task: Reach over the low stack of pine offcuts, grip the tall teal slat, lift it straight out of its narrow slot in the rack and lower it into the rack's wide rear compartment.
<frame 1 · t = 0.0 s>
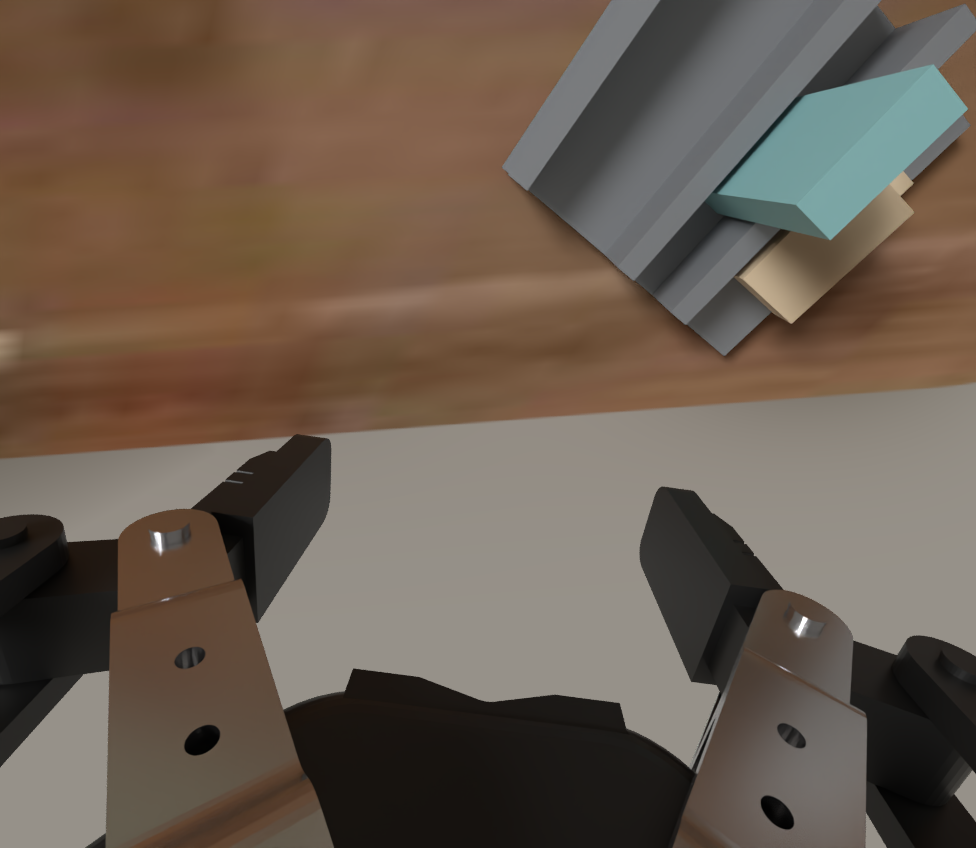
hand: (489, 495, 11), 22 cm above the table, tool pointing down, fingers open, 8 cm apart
teal slat: (741, 161, 26), point 1 cm above the table, touching rack
rack: (737, 168, 27), on the table
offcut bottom: (800, 221, 27), point 1 cm above the table, touching offcut top, rack
offcut top: (804, 241, 26), point 3 cm above the table, touching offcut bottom
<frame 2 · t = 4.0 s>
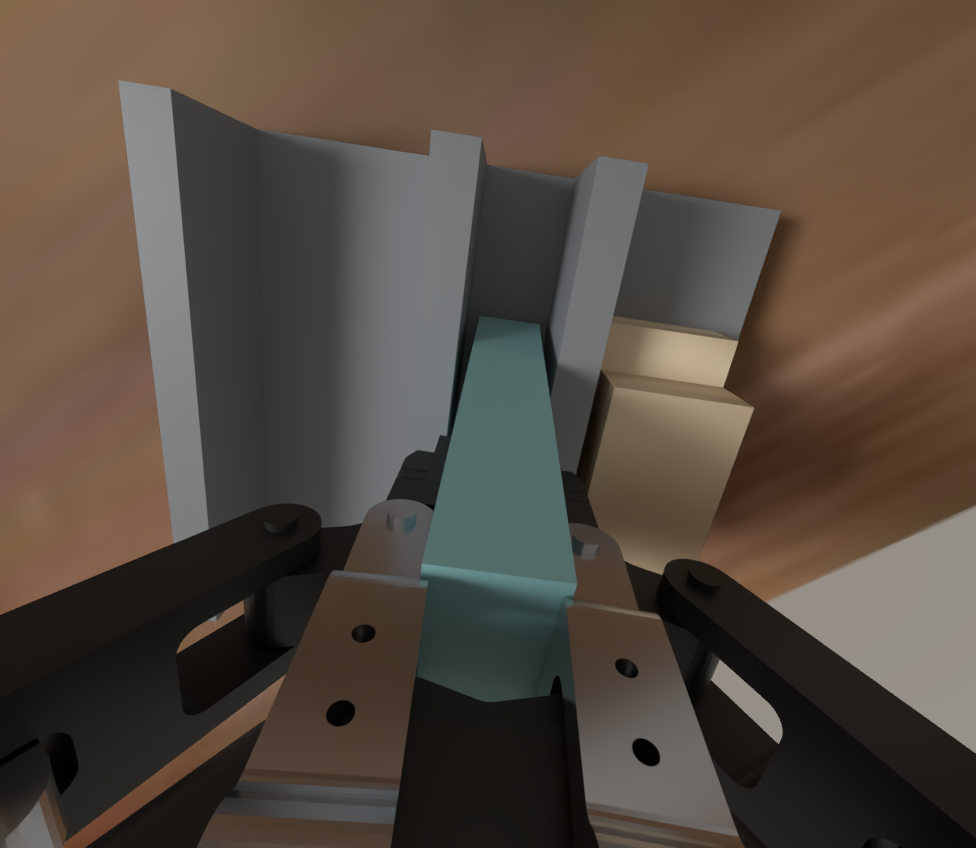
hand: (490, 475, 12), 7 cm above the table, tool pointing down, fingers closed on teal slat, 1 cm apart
teal slat: (498, 387, 17), point 2 cm above the table, tilted 8°, touching gripper
rack: (509, 398, 19), on the table
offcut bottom: (627, 427, 18), point 1 cm above the table, touching offcut top, rack
offcut top: (634, 475, 16), point 3 cm above the table, touching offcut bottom
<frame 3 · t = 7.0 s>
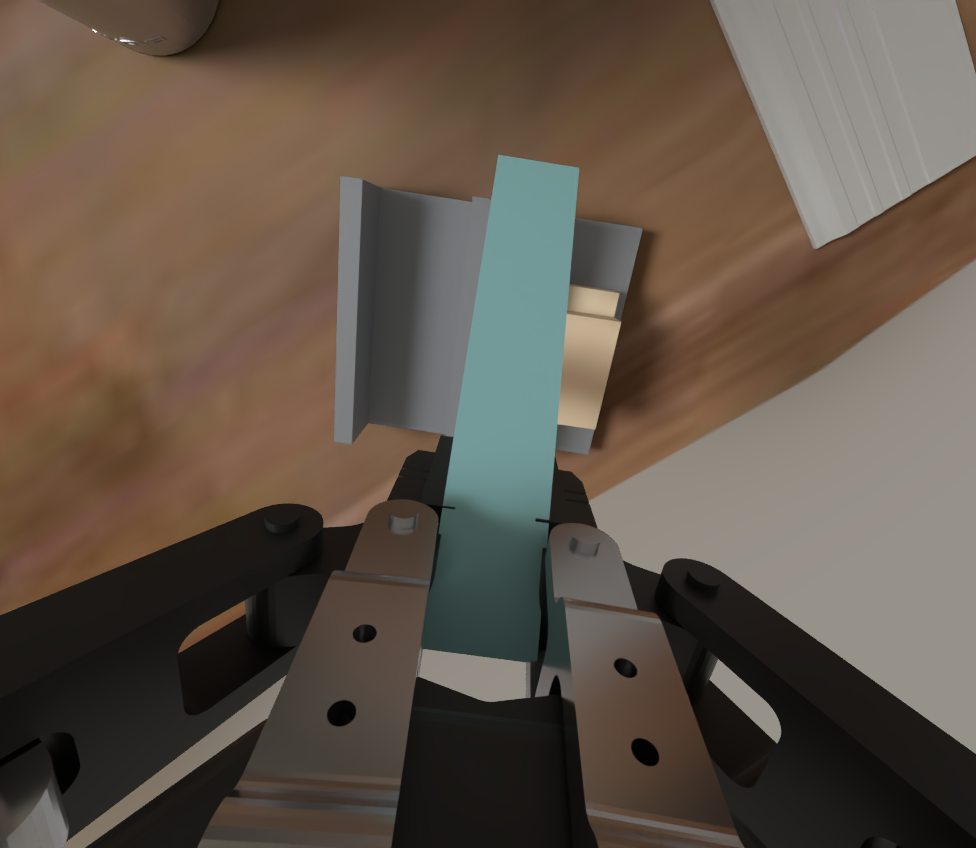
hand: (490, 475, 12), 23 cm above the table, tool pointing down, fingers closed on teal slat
teal slat: (524, 232, 14), point 19 cm above the table, tilted 51°, touching gripper
rack: (506, 331, 34), on the table
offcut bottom: (570, 345, 33), point 1 cm above the table, touching offcut top, rack
offcut top: (571, 365, 31), point 3 cm above the table, touching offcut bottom
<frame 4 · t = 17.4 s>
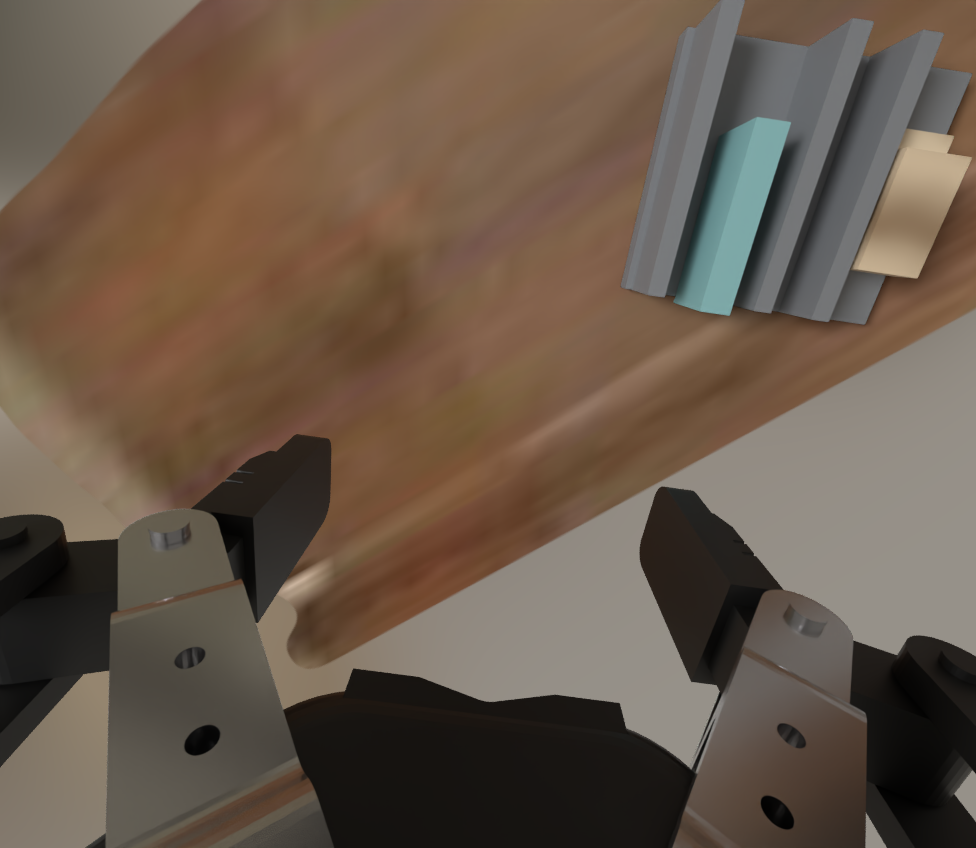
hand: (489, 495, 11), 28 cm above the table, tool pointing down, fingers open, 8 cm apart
teal slat: (752, 129, 29), point 4 cm above the table, tilted 90°, touching rack
rack: (796, 195, 34), on the table
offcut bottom: (872, 203, 33), point 1 cm above the table, touching offcut top, rack
offcut top: (887, 217, 31), point 3 cm above the table, touching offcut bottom
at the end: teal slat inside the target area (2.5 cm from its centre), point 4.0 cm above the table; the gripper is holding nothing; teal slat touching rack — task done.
